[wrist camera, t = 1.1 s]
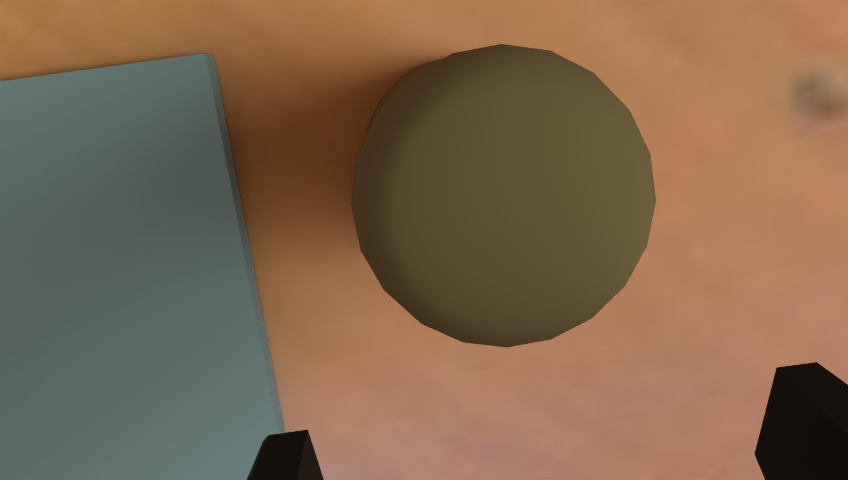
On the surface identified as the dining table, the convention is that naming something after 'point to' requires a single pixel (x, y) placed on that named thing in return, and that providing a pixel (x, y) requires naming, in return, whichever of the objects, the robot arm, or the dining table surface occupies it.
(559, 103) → the olive game pawn
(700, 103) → the dining table surface
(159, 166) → the teal board
